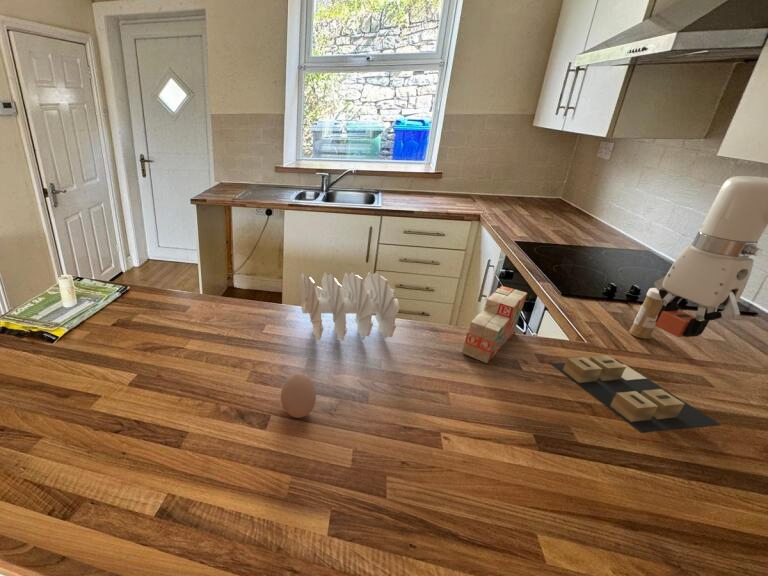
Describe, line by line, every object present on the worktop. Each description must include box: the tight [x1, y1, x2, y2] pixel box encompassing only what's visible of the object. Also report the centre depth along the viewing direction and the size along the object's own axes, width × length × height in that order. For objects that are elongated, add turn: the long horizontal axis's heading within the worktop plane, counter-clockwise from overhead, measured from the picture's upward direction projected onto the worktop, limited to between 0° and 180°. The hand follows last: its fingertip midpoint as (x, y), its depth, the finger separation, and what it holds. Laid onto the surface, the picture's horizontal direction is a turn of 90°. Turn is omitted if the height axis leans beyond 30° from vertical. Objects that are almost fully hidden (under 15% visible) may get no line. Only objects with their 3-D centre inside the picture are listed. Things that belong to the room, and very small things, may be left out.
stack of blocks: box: [461, 285, 528, 364], centre depth 102 cm, size 21×6×12 cm, turn 135°
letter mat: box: [550, 358, 722, 434], centre depth 87 cm, size 18×22×1 cm
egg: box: [280, 372, 317, 419], centre depth 78 cm, size 7×7×10 cm
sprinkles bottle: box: [628, 287, 663, 340], centre depth 107 cm, size 5×5×14 cm
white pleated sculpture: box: [298, 270, 400, 342], centre depth 104 cm, size 18×18×25 cm
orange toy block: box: [655, 309, 696, 338], centre depth 82 cm, size 4×4×4 cm
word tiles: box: [563, 354, 684, 422], centre depth 86 cm, size 10×16×4 cm, turn 7°
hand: (676, 328), depth 82 cm, fingers closed on orange toy block, 4 cm apart
